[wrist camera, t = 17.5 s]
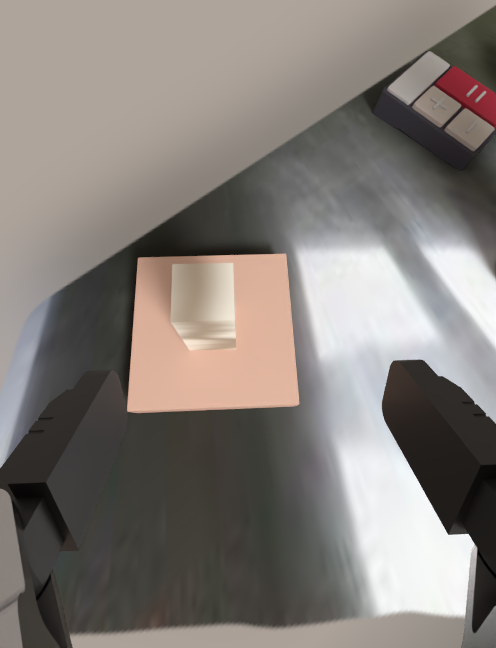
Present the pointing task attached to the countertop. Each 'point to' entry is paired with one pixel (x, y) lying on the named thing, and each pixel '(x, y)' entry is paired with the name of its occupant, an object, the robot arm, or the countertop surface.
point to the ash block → (204, 305)
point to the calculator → (440, 109)
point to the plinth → (214, 365)
